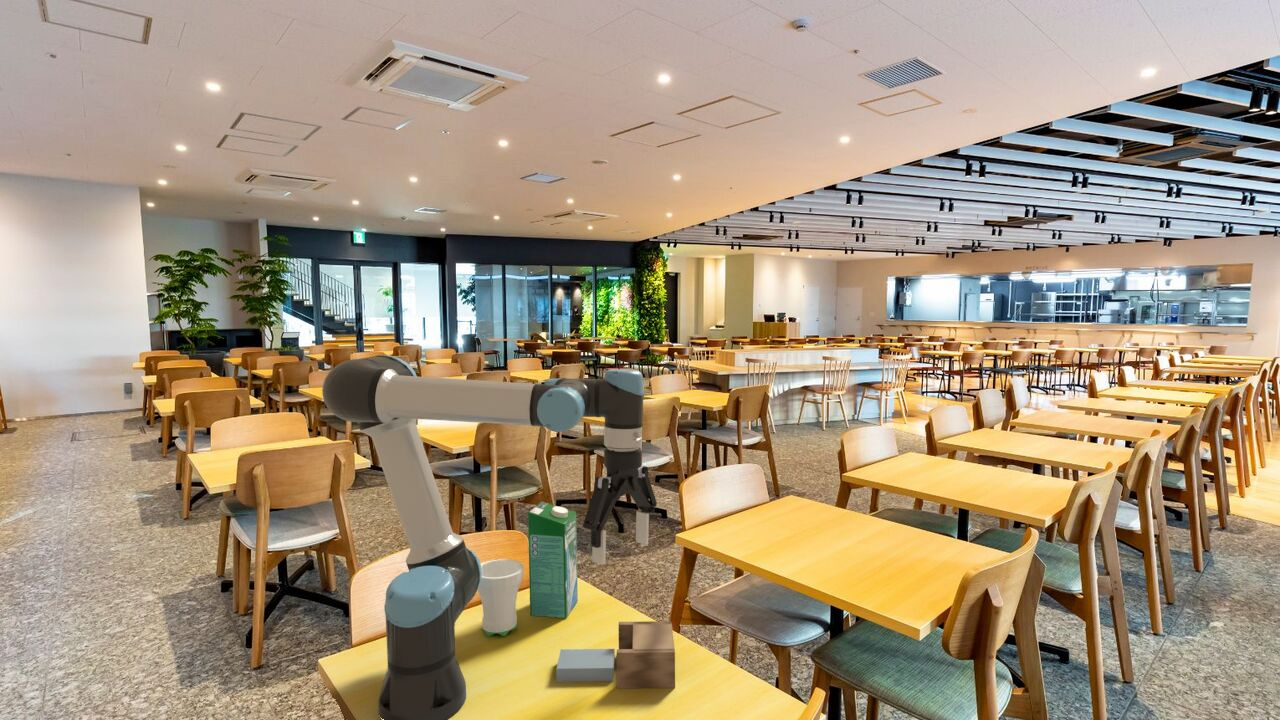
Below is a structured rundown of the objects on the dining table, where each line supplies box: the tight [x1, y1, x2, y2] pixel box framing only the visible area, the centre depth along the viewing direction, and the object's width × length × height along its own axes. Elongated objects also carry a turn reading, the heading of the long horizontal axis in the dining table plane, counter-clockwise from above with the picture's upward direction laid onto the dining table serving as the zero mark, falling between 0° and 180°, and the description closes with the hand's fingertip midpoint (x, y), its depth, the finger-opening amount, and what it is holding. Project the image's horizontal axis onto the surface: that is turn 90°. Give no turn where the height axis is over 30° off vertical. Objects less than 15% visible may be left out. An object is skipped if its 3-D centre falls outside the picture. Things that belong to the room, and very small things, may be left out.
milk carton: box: [527, 501, 578, 619], centre depth 150 cm, size 9×9×25 cm
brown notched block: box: [616, 620, 676, 689], centre depth 124 cm, size 11×12×7 cm
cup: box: [477, 558, 525, 637], centre depth 140 cm, size 11×11×14 cm
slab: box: [556, 648, 616, 683], centre depth 124 cm, size 11×7×3 cm, turn 91°
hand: (621, 552), depth 124 cm, fingers open, 13 cm apart
